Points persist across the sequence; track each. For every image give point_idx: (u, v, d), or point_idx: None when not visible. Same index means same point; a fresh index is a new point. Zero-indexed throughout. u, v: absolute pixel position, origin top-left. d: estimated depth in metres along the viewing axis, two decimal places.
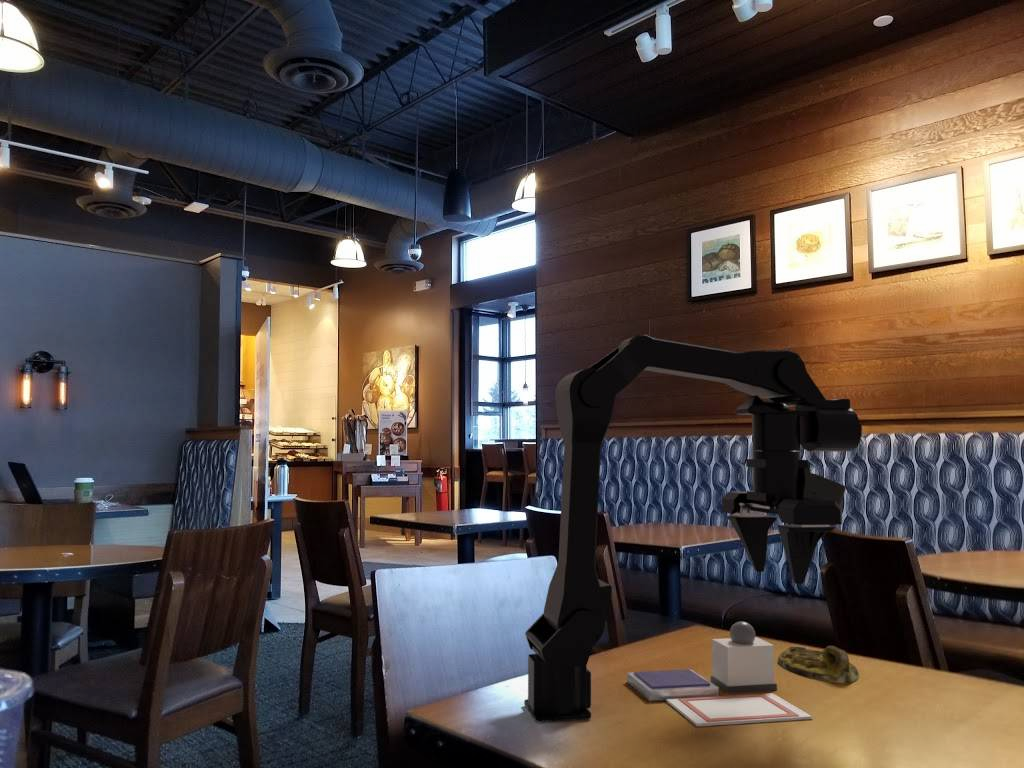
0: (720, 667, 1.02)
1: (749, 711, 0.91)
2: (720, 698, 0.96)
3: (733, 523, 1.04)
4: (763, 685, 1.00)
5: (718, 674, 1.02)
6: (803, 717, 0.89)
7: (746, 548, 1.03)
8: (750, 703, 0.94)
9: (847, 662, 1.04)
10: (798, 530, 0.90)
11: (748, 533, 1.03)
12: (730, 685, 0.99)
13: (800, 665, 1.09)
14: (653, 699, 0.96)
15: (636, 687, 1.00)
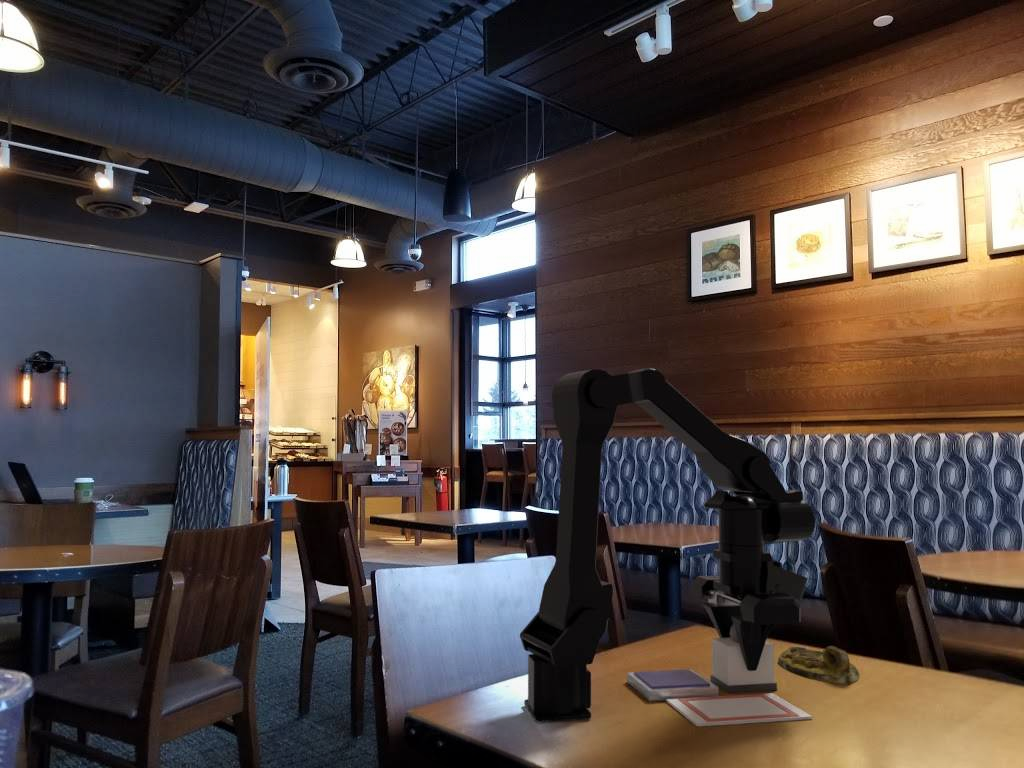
0: (720, 666, 1.02)
1: (749, 711, 0.91)
2: (720, 698, 0.96)
3: (708, 612, 1.06)
4: (763, 685, 1.00)
5: (718, 673, 1.02)
6: (803, 717, 0.89)
7: (721, 637, 1.05)
8: (750, 703, 0.94)
9: (847, 662, 1.04)
10: (749, 623, 0.97)
11: (723, 622, 1.05)
12: (730, 684, 0.99)
13: (801, 665, 1.09)
14: (653, 699, 0.96)
15: (636, 687, 1.00)
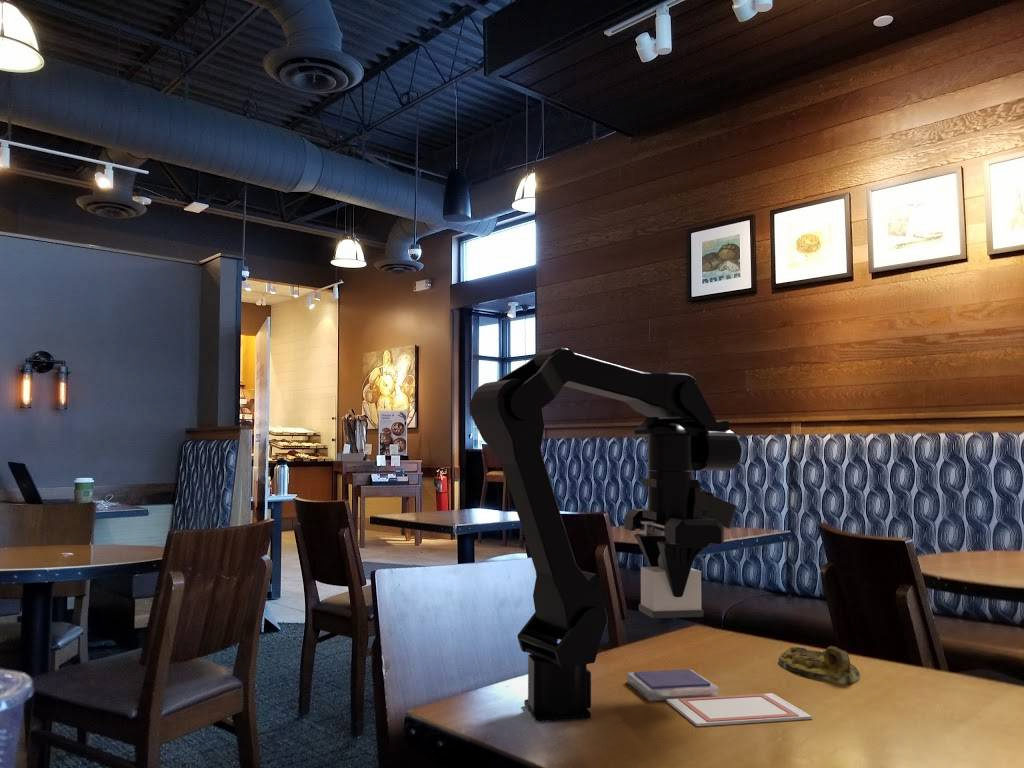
0: (647, 594, 1.00)
1: (749, 711, 0.91)
2: (720, 698, 0.96)
3: (638, 542, 1.05)
4: (689, 611, 0.99)
5: (645, 601, 1.01)
6: (803, 717, 0.89)
7: None
8: (750, 703, 0.94)
9: (848, 663, 1.04)
10: (673, 546, 0.96)
11: (653, 552, 1.04)
12: (655, 610, 0.98)
13: (801, 665, 1.09)
14: (653, 699, 0.96)
15: (636, 687, 1.00)
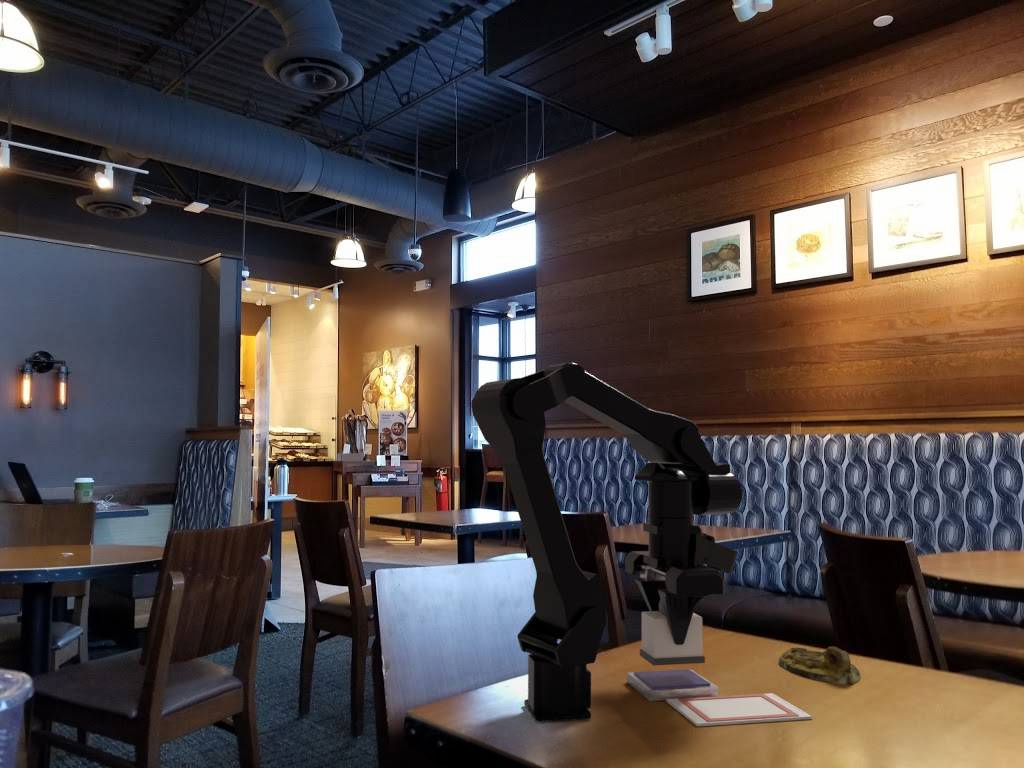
0: (648, 639, 1.00)
1: (749, 711, 0.91)
2: (720, 698, 0.96)
3: (639, 586, 1.05)
4: (690, 658, 0.99)
5: (646, 647, 1.01)
6: (803, 717, 0.89)
7: None
8: (750, 703, 0.94)
9: (849, 663, 1.04)
10: (674, 596, 0.95)
11: (654, 597, 1.04)
12: (656, 657, 0.98)
13: (801, 665, 1.08)
14: (653, 699, 0.96)
15: (636, 687, 1.00)
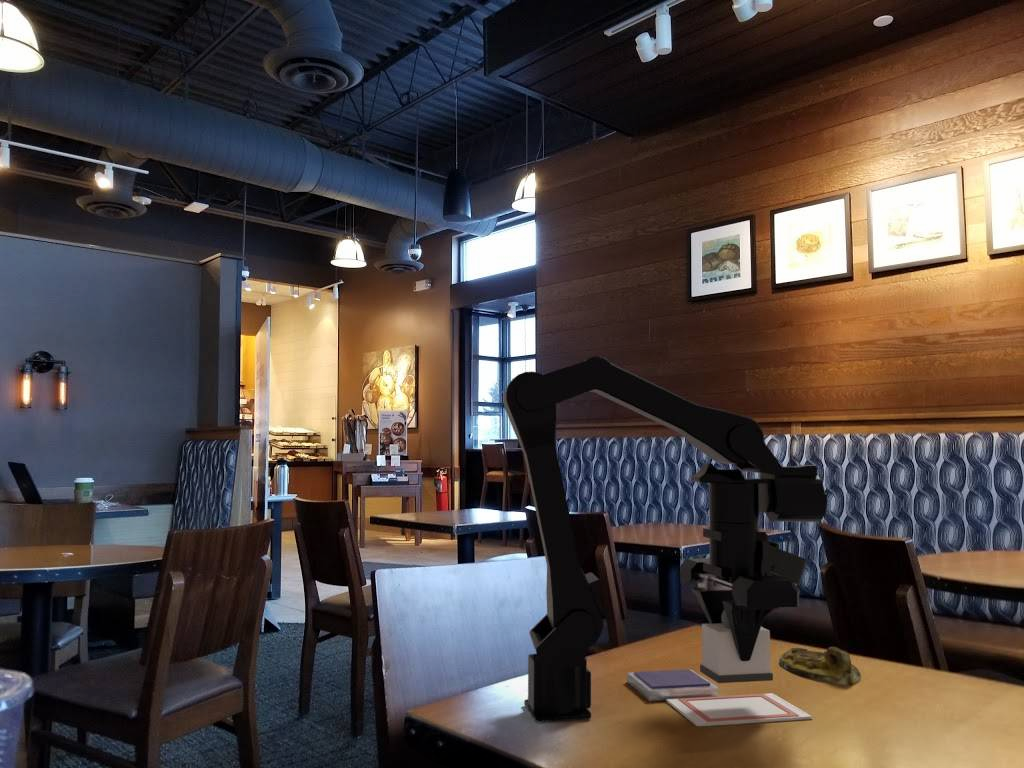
0: (710, 655, 0.92)
1: (749, 711, 0.91)
2: (720, 698, 0.96)
3: (698, 597, 0.97)
4: (758, 675, 0.91)
5: (708, 662, 0.93)
6: (803, 717, 0.89)
7: None
8: (750, 703, 0.94)
9: (849, 663, 1.04)
10: (742, 608, 0.87)
11: (714, 608, 0.96)
12: (721, 674, 0.90)
13: (802, 666, 1.08)
14: (653, 699, 0.96)
15: (636, 687, 1.00)
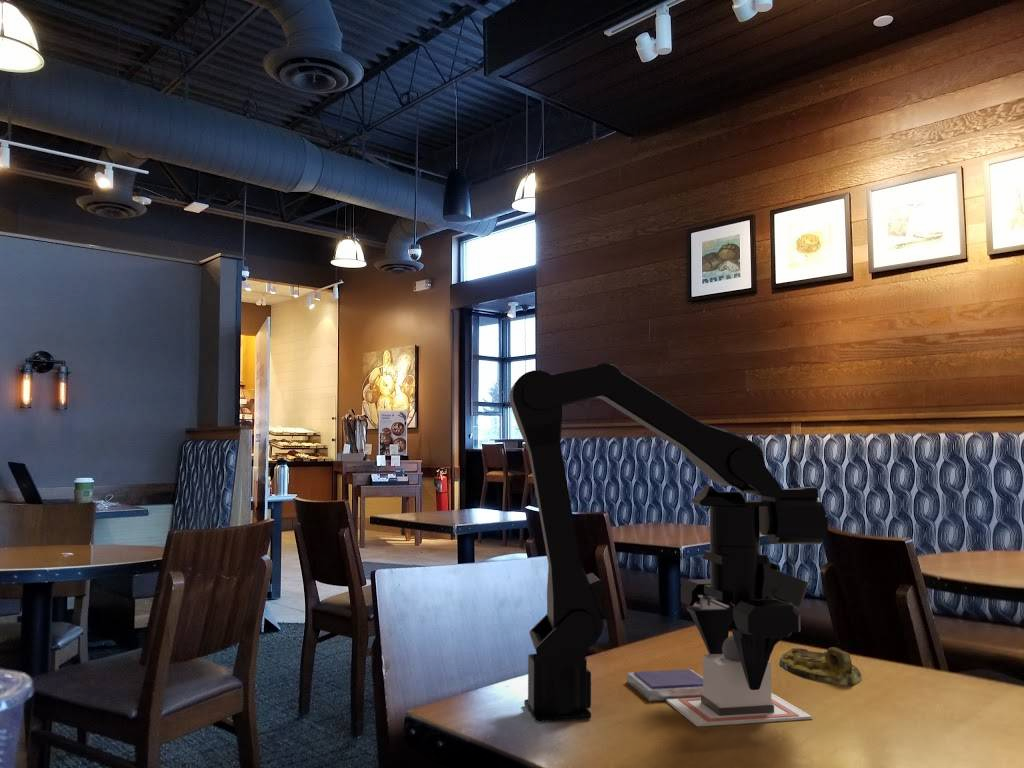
0: (711, 686, 0.92)
1: None
2: None
3: (693, 616, 0.98)
4: (759, 707, 0.90)
5: (709, 694, 0.92)
6: (803, 717, 0.89)
7: (706, 643, 0.97)
8: None
9: (850, 664, 1.04)
10: (752, 637, 0.85)
11: (708, 627, 0.97)
12: (722, 707, 0.90)
13: (802, 666, 1.08)
14: (653, 699, 0.96)
15: (636, 687, 1.00)
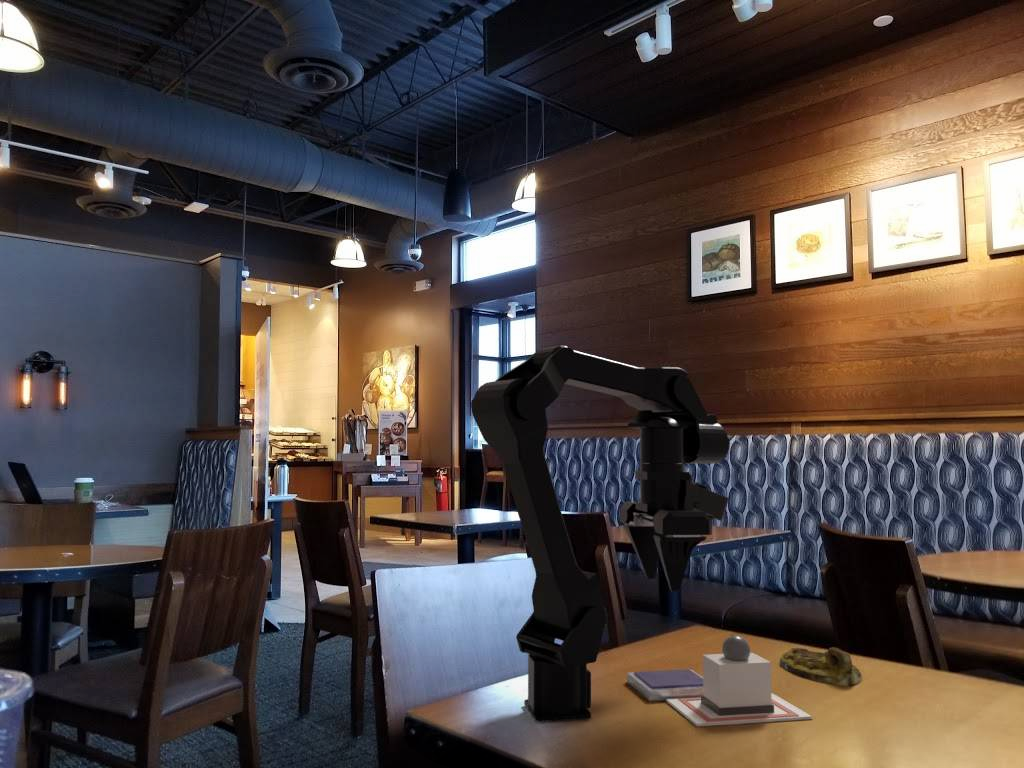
0: (711, 686, 0.92)
1: None
2: None
3: (627, 532, 1.09)
4: (759, 707, 0.90)
5: (709, 694, 0.92)
6: (803, 717, 0.89)
7: (638, 556, 1.07)
8: None
9: (850, 664, 1.03)
10: (669, 540, 0.95)
11: (641, 541, 1.07)
12: (722, 707, 0.90)
13: (802, 666, 1.08)
14: (653, 699, 0.96)
15: (636, 687, 1.00)
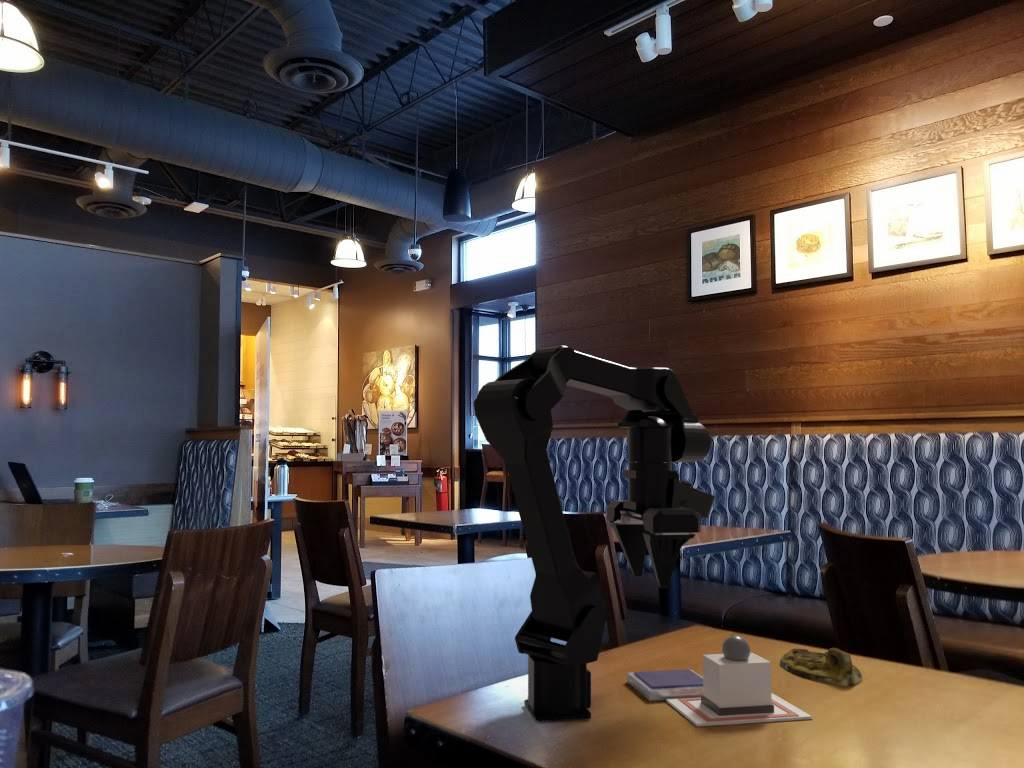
0: (711, 686, 0.92)
1: None
2: None
3: (614, 530, 1.10)
4: (759, 707, 0.90)
5: (709, 694, 0.92)
6: (803, 717, 0.89)
7: (625, 554, 1.09)
8: None
9: (850, 664, 1.03)
10: (658, 538, 0.96)
11: (628, 539, 1.09)
12: (722, 707, 0.90)
13: (803, 667, 1.08)
14: (653, 699, 0.96)
15: (636, 687, 1.00)
